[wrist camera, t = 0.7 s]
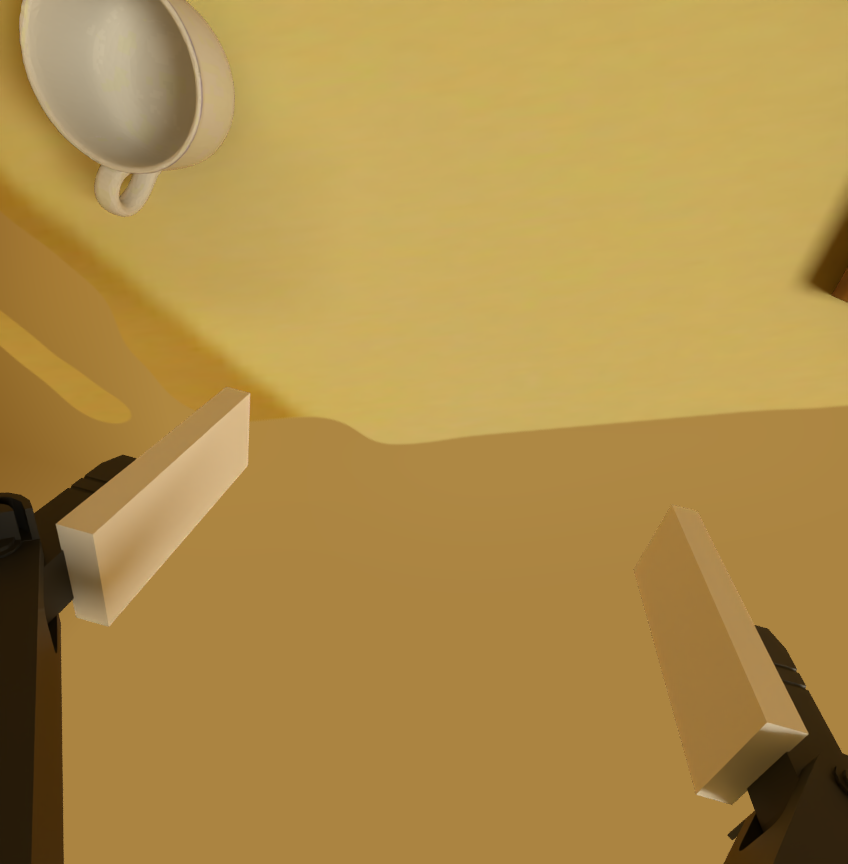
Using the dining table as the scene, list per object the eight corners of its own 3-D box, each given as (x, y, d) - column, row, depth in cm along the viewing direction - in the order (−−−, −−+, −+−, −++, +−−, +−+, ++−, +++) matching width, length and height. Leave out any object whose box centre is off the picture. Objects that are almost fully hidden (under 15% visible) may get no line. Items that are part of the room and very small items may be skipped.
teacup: (137, -50, 33) (36, -106, 26) (280, 59, 35) (221, 35, 28) (88, 153, 40) (-4, 152, 33) (210, 237, 41) (148, 253, 34)
